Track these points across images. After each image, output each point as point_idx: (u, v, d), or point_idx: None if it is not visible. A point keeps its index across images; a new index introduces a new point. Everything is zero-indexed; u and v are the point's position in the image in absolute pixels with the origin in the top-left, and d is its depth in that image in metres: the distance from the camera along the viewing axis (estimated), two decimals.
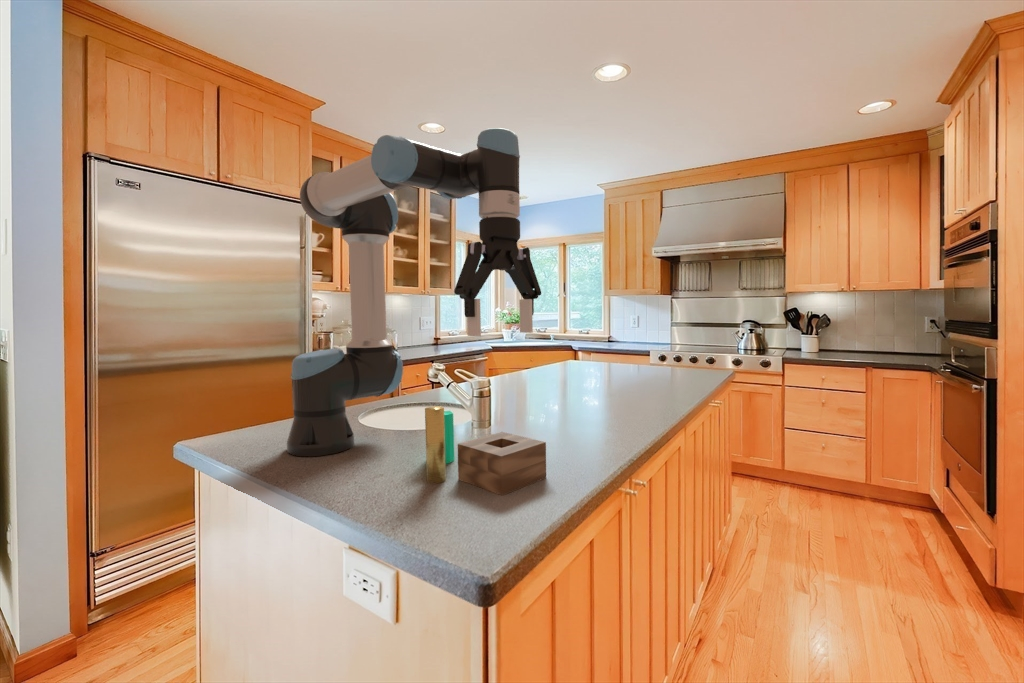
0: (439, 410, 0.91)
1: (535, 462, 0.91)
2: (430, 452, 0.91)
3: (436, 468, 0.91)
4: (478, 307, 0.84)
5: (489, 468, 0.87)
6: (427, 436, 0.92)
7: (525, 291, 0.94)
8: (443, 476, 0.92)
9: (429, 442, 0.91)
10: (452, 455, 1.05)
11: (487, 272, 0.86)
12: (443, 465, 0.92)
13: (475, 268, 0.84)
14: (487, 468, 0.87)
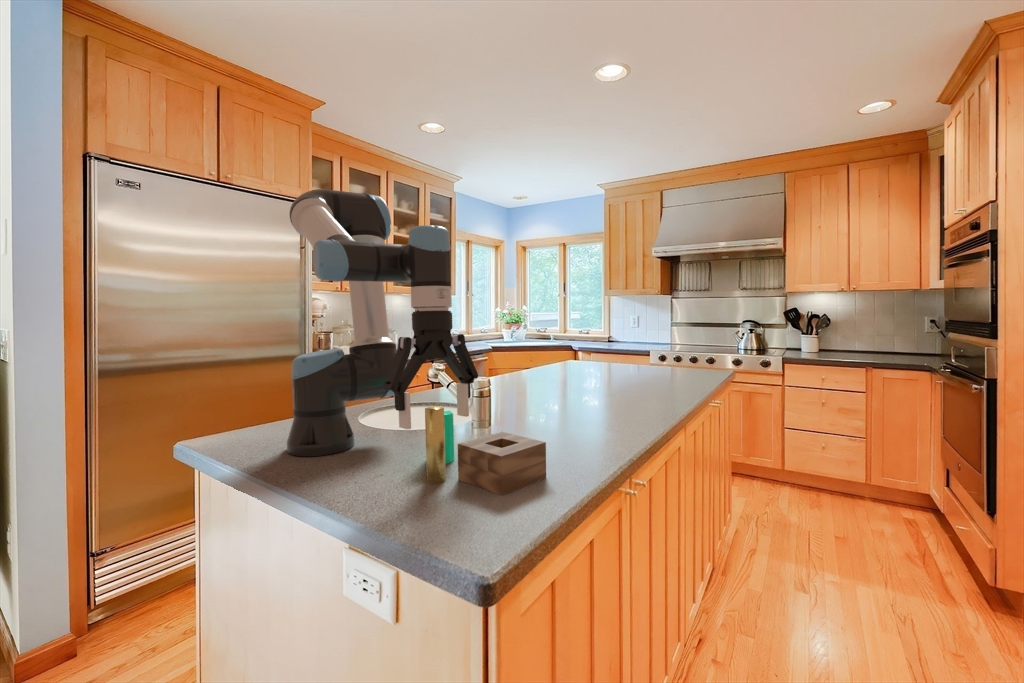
0: (439, 410, 0.91)
1: (535, 462, 0.91)
2: (430, 452, 0.91)
3: (436, 468, 0.91)
4: (408, 401, 0.86)
5: (489, 468, 0.87)
6: (427, 436, 0.92)
7: (461, 376, 0.96)
8: (443, 476, 0.92)
9: (429, 442, 0.91)
10: (452, 455, 1.05)
11: (418, 366, 0.88)
12: (443, 465, 0.92)
13: (404, 363, 0.86)
14: (487, 468, 0.87)
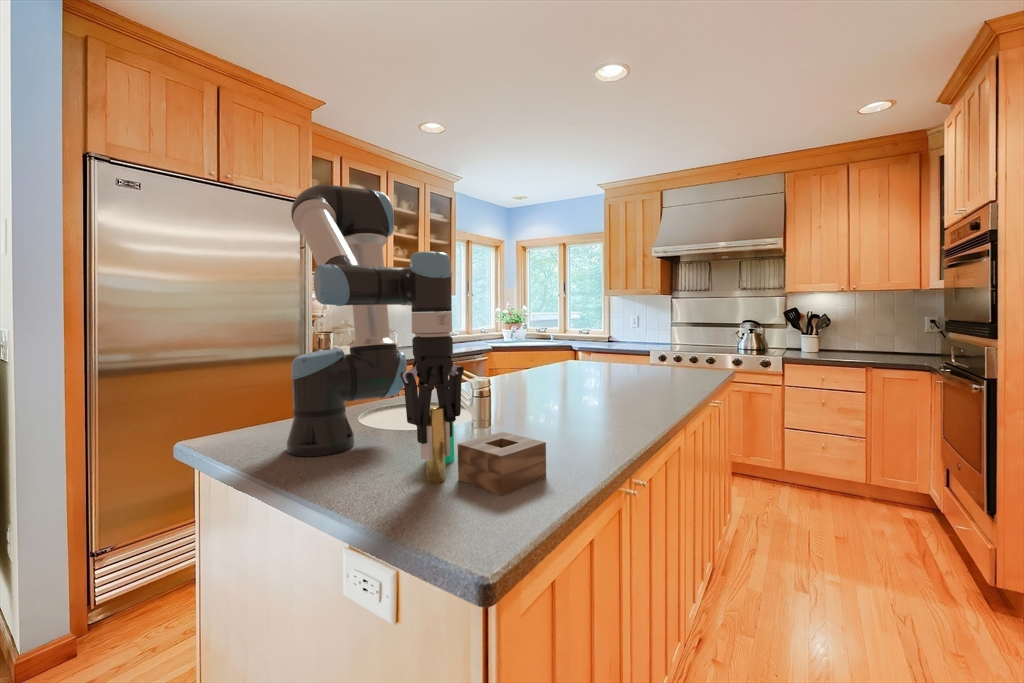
0: (439, 410, 0.91)
1: (535, 462, 0.91)
2: None
3: (436, 468, 0.91)
4: (430, 434, 0.90)
5: (489, 468, 0.87)
6: None
7: (445, 410, 0.94)
8: (443, 476, 0.92)
9: None
10: (452, 455, 1.05)
11: (429, 395, 0.90)
12: (443, 465, 0.92)
13: (416, 397, 0.88)
14: (487, 468, 0.87)
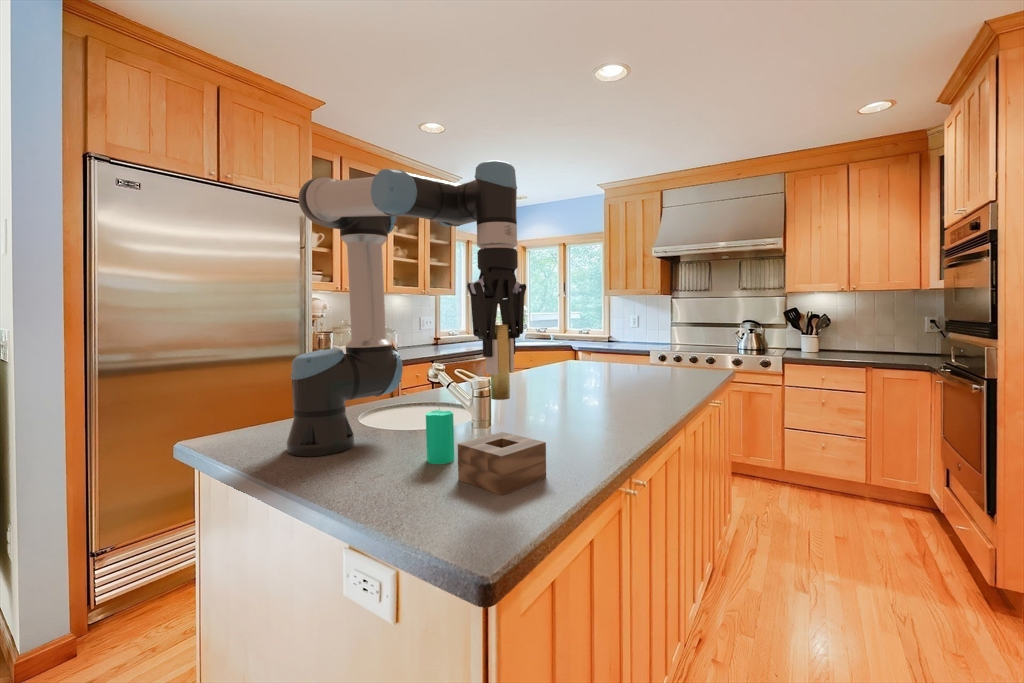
0: (504, 325, 0.90)
1: (535, 462, 0.91)
2: None
3: (501, 384, 0.90)
4: (496, 347, 0.89)
5: (489, 468, 0.87)
6: None
7: None
8: (508, 393, 0.91)
9: None
10: (452, 455, 1.05)
11: (495, 308, 0.89)
12: (508, 382, 0.91)
13: (484, 308, 0.87)
14: (487, 468, 0.87)
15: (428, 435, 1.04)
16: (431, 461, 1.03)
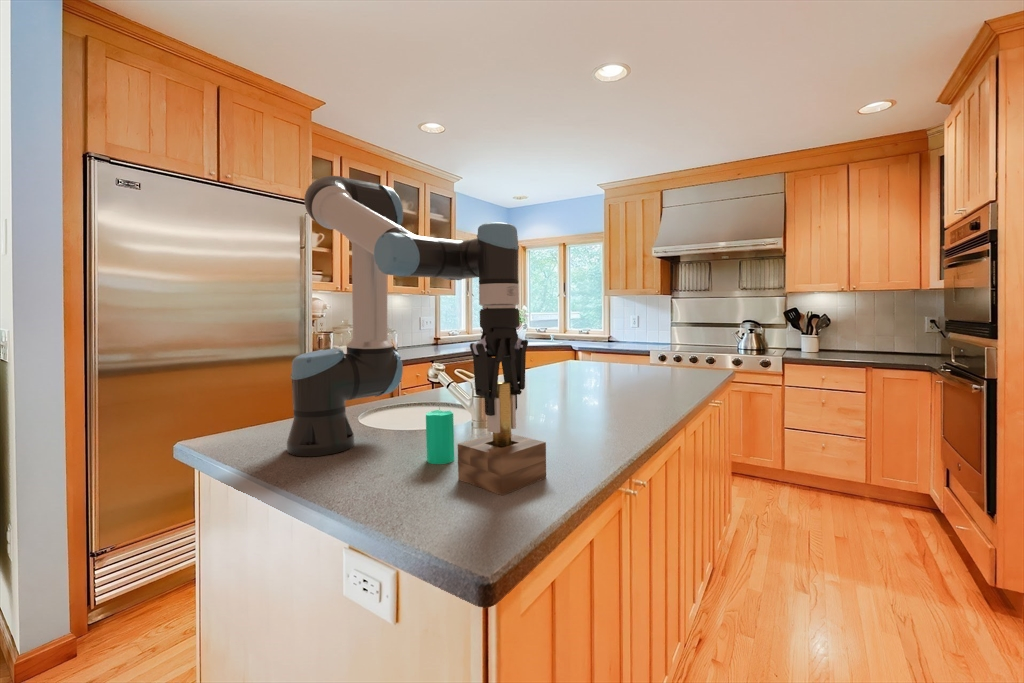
0: (506, 384, 0.91)
1: (535, 462, 0.91)
2: None
3: (503, 442, 0.91)
4: (498, 406, 0.90)
5: (489, 468, 0.87)
6: None
7: (510, 383, 0.94)
8: None
9: None
10: (452, 455, 1.05)
11: (497, 367, 0.90)
12: (510, 440, 0.92)
13: (486, 368, 0.88)
14: (487, 468, 0.87)
15: (428, 435, 1.04)
16: (431, 461, 1.03)
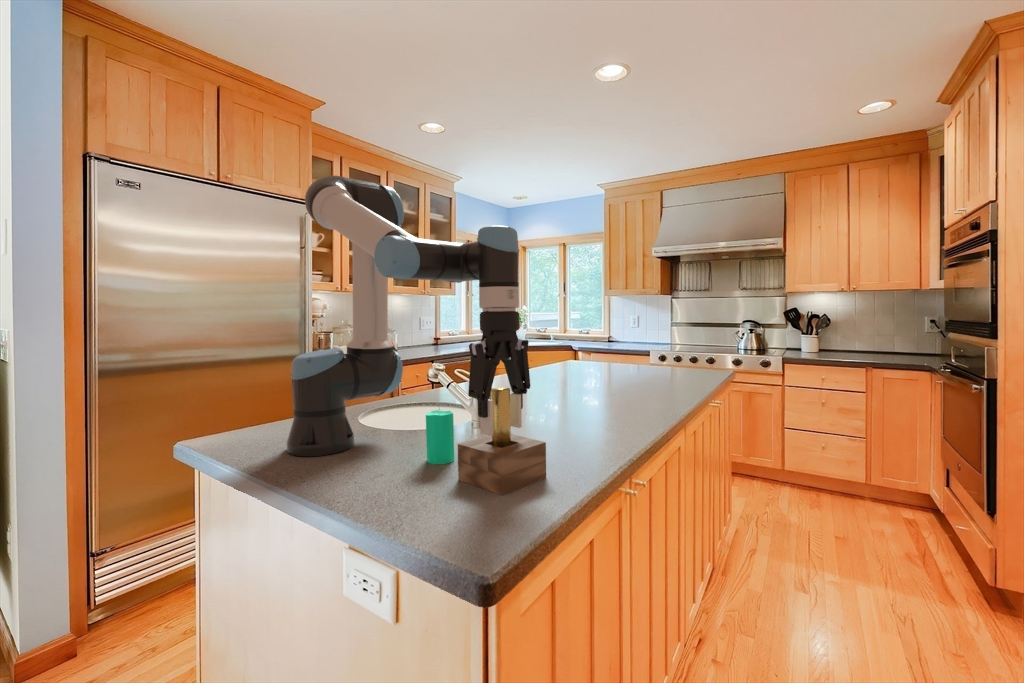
0: (506, 390, 0.91)
1: (535, 462, 0.91)
2: (497, 432, 0.91)
3: None
4: (491, 408, 0.89)
5: (489, 468, 0.87)
6: (494, 416, 0.91)
7: (515, 384, 0.95)
8: None
9: (496, 422, 0.91)
10: (452, 455, 1.05)
11: (493, 369, 0.89)
12: None
13: (482, 370, 0.87)
14: (487, 468, 0.87)
15: (428, 435, 1.04)
16: (431, 461, 1.03)
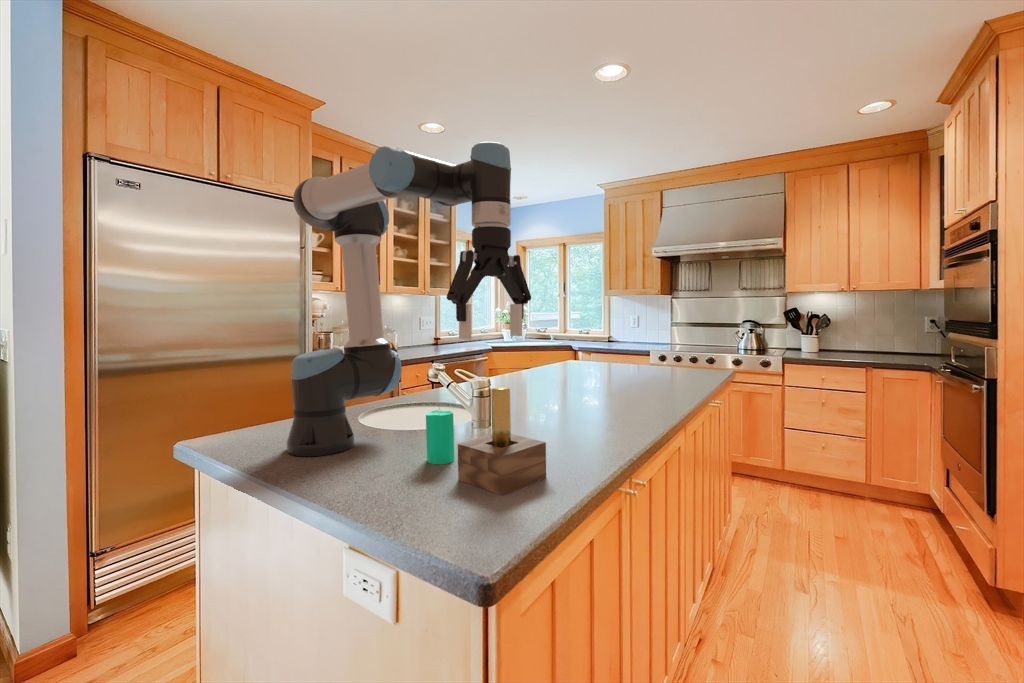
0: (506, 390, 0.91)
1: (535, 462, 0.91)
2: (497, 432, 0.91)
3: None
4: (469, 312, 0.89)
5: (489, 468, 0.87)
6: (494, 416, 0.91)
7: (515, 296, 0.99)
8: None
9: (496, 422, 0.91)
10: (452, 455, 1.05)
11: (479, 279, 0.91)
12: None
13: (466, 275, 0.88)
14: (487, 468, 0.87)
15: (428, 435, 1.04)
16: (431, 461, 1.03)
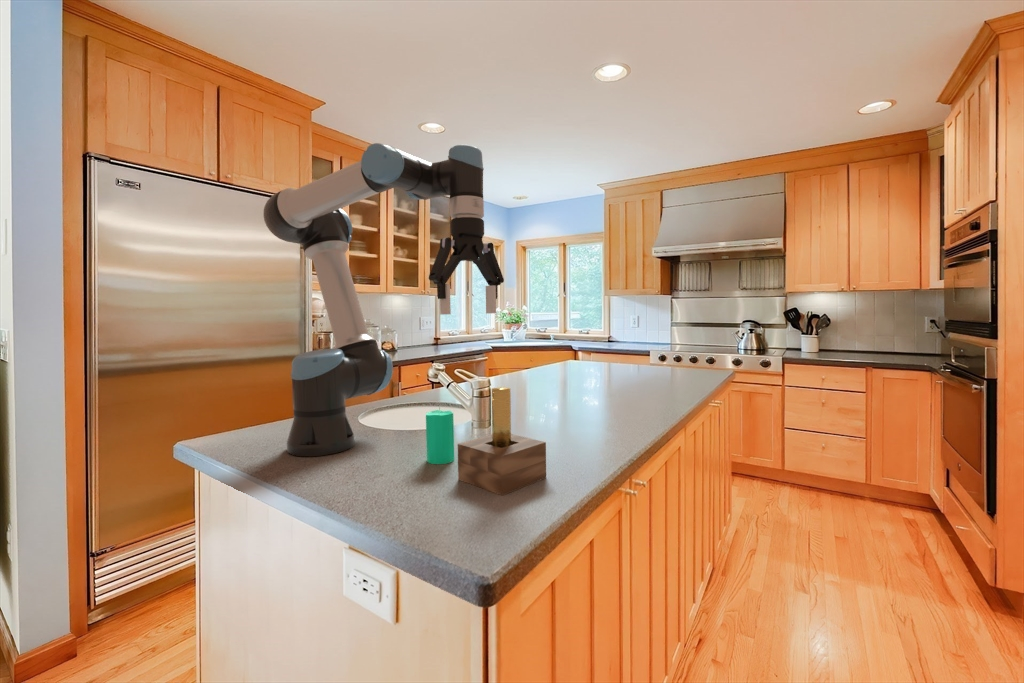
0: (506, 390, 0.91)
1: (535, 462, 0.91)
2: (498, 432, 0.91)
3: None
4: (448, 290, 1.04)
5: (489, 468, 0.87)
6: (494, 416, 0.91)
7: (490, 279, 1.13)
8: None
9: (496, 422, 0.91)
10: (452, 455, 1.05)
11: (456, 263, 1.05)
12: None
13: (445, 259, 1.03)
14: (487, 468, 0.87)
15: (428, 435, 1.04)
16: (431, 461, 1.03)
